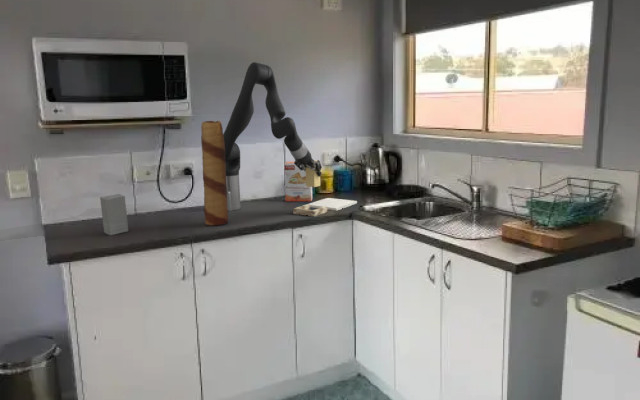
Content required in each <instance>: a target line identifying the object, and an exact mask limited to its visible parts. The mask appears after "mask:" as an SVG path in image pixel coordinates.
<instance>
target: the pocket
mask: <svg viewBox="0 0 640 400" xmlns="http://www.w3.org/2000/svg"><path fill="white" fill-rule="evenodd" d="M309 204H310V203H307V204H303V205H300V206H297V207H294V208H293V209H292V214H293V215H299V214H300V216H306V215H308V217H313V216H314V217H317V216H320V215H323V214H325V213H328V210H327V207H325V206H324V207H321V208H314V209H311V207H309Z"/></svg>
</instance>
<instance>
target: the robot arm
mask: <svg viewBox="0 0 640 400" xmlns="http://www.w3.org/2000/svg"><path fill="white" fill-rule="evenodd" d="M274 74H275V73H274V71H273V69H272V67H271V66H269V65H267V64H263V63H260V62H254V61H253V62H252V63H250V64H249V65H248V68H247V69H246V72H245V76H244V79H243V83H242V86H241V90H240V92H239V95H238V97H237V100H236V103H235V104H234V108H233V110H232V111H231V112H232V113H231V115H230V118H229V120H228V121H227V122H228V123H227V125H226V128H225V129H224V132H223V135H224V142H225V162H226V187H227V209H228V212H230V211H237V210H240V209H241V208H242V207H241V188H240V170H241V149H240V147H239V145H238V144H237V143H236V141H237V139H238V138H239V137H240V136H241V134H242V133H243V132H244V131H245V130H246V128H247V127H248V126H249V124H250V123H251V120H252V117H253V115H254V110H255V107H254V102H253V93H254V92H253V90H254V88H255V86H256V85H260V86H264V88H265V90H266V96H265V102H264V103H265V107H266V110H267V113H268V114H269V118H270V127H271V133H272V135H273V136H274V138H276V139H279V140H281V139H283V138H284V139H283V144H284V145H285V146H286V148H287V149H288V151H289V153H290V155H291V156H292V157H293V159H294V161H293V162H294V164H295V165H296V166H297V167H298V168H299V169H300V170H304V171H305V172H306V167H309V168H310V169H311V170H314V171H315V172H316V174H317V175H318V177H320V178H321V176H322V172H321V170H322V169H323V168H322V163H321V160H319V159H317V160H316V161H314V158H313V157H312V153H311V152H310V150H309V149H308V147H307V145H306V144H305V143H304V142H303V141H302V139H301V138H300V136H299V134H298V131H297V127H296V123H295V121H294V119H293V118H291V117H288V116H286V110H285V108H284V105H283V103H282V101H281V99H280V95H279V91H278V87H277V83H276V79H275V75H274ZM285 116H286V117H285ZM313 164H314V166H313ZM300 165H301V167H300ZM312 166H313V167H312ZM315 167H316V169H315Z"/></svg>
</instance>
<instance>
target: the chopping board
mask: <svg viewBox="0 0 640 400" xmlns="http://www.w3.org/2000/svg"><path fill="white" fill-rule="evenodd" d="M308 204H309V207H310V209H311V208H312V209H318V208H321V207H324V206H325V207H327V211H339V210H343V209H345V208H349V207H350V206H353V205H357V204H358V201H357V200H353V199H344V198H343V199H340V198H333V197H327V198H322V199H319V200H316V201H313V202H309V203H308ZM342 208H343V209H342Z"/></svg>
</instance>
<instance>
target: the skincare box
mask: <svg viewBox="0 0 640 400" xmlns="http://www.w3.org/2000/svg"><path fill="white" fill-rule="evenodd" d="M99 200H100V207H101V216H102V217H101V218H102V226H103V232H104V234H107V235H109V236H113V235H114V236H115V235H118V234H119V235H120V234H122V233H123V234H124V233H126V232H129V226H128V225H129V224H128V223H129V222H128V214H127V205H126V196H125V195H123V194H121V193H116V194H111V195H105V196H100V197H99Z"/></svg>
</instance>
